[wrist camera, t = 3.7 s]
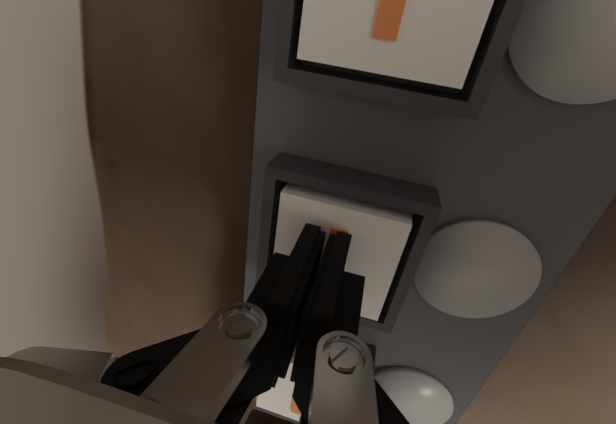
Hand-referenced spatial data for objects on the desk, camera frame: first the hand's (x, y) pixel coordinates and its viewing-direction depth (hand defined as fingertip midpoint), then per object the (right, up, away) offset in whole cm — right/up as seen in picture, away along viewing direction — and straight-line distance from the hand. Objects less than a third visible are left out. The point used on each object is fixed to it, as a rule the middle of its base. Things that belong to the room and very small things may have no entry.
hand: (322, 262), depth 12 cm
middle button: (+1, +1, +2) cm, 2 cm away
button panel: (+4, +2, +4) cm, 6 cm away
